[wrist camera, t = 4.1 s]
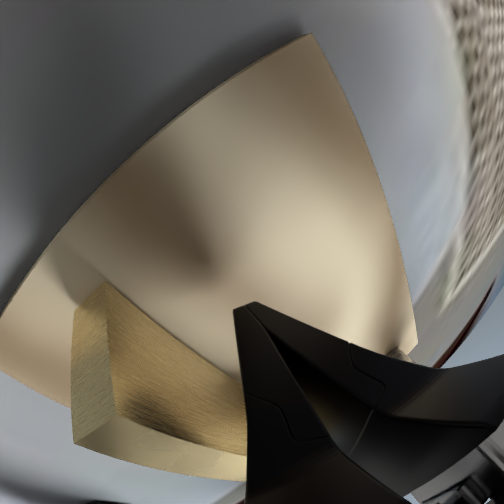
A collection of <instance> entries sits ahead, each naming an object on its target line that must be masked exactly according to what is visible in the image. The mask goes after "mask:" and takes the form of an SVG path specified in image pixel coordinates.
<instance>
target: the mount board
mask: <svg viewBox="0 0 504 504" xmlns="http://www.w3.org/2000/svg"><path fill="white" fill-rule="evenodd" d="M105 281H106V282H107V283H108V284H109V285H110V286H112V287H113V288H114V289H115V290H116V291H117V292H118V293H120V294H121V295H122V296H123V297H124V298H125V299H127V300H128V301H129V302H130V303H131V304H133V305H134V306H135V307H136V308H137V309H139V310H140V311H141V312H142V313H143V314H145V315H146V316H147V317H148V318H150V319H151V320H152V321H153V322H155V323H156V324H157V325H158V326H160V327H161V328H162V329H164V330H165V331H166V332H168V333H169V334H170V335H171V336H173V337H174V338H175V339H177V340H178V341H179V342H181V343H182V344H183V345H185V346H186V347H188V348H189V349H190V350H192V351H193V352H195V353H196V354H197V355H199V356H200V357H202V358H203V359H204V360H206V361H207V362H209V363H210V364H212V365H213V366H215V367H216V368H218V369H219V370H220V371H222V372H223V373H225V374H226V375H228V376H230V377H231V378H233V379H234V380H236V381H237V382H239V383H240V384H242V381H241V373H240V366H239V359H238V351H237V344H236V336H235V328H234V320H233V312H232V311H233V309H235V308H237V307H240V306H243V305H245V304H248V303H251V302H253V301H257V302H259V303H261V304H264V305H266V306H268V307H270V308H272V309H275V310H277V311H279V312H281V313H283V314H286V315H288V316H290V317H292V318H295V319H297V320H299V321H301V322H304V323H306V324H308V325H311V326H313V327H315V328H318V329H320V330H322V331H324V332H327V333H329V334H332V335H334V336H336V337H339V338H341V339H343V340H346V341H348V342H349V343H353V344H356V345H358V346H361V347H363V348H366V349H368V350H371V351H374V352H376V353H380V354H383V355H387V354H388V353H389V352H390V351H391V350H392V349H394V348H395V347H399V348H400V349H401V350H402V351H403V352H404V353H405V354H406V355H407V354H408V353H409V352H410V351H411V350H412V349H413V348H414V347H415V346H416V344H417V343H418V340H417V333H416V326H415V320H414V314H413V308H412V302H411V297H410V292H409V287H408V282H407V277H406V273H405V268H404V264H403V260H402V255H401V251H400V247H399V243H398V240H397V236H396V232H395V229H394V225H393V222H392V218H391V215H390V211H389V208H388V205H387V202H386V198H385V195H384V192H383V189H382V186H381V183H380V180H379V177H378V175H377V172H376V169H375V166H374V163H373V161H372V158H371V155H370V153H369V150H368V148H367V145H366V143H365V140H364V138H363V135H362V133H361V130H360V128H359V126H358V123H357V121H356V119H355V116H354V114H353V112H352V110H351V107H350V105H349V103H348V101H347V99H346V97H345V94H344V92H343V90H342V88H341V86H340V84H339V82H338V80H337V78H336V76H335V74H334V72H333V70H332V68H331V67H330V65H329V63H328V61H327V59H326V57H325V55H324V54H323V52H322V50H321V48H320V46H319V45H318V43H317V41H316V40H315V38H314V36H313V34H312V33H310V34H306V35H302V36H300V37H298V38H296V39H294V40H292V41H290V42H288V43H287V44H285V45H283V46H281V47H279V48H278V49H276V50H274V51H272V52H270V53H269V54H267V55H265V56H264V57H262V58H260V59H259V60H257V61H255V62H254V63H252V64H250V65H249V66H247V67H246V68H244V69H242V70H241V71H239V72H238V73H236V74H235V75H233V76H232V77H230V78H229V79H227V80H226V81H224V82H223V83H221V84H220V85H218V86H217V87H216V88H214V89H213V90H211V91H210V92H208V93H207V94H206V95H204V96H203V97H202V98H200V99H199V100H197V101H196V102H195V103H193V104H192V105H191V106H189V107H188V108H187V109H186V110H184V111H183V112H182V113H180V114H179V115H178V116H177V117H175V118H174V119H173V120H172V121H170V122H169V123H168V124H167V125H165V126H164V127H163V128H162V129H161V130H159V131H158V132H157V133H156V134H155V135H154V136H152V137H151V138H150V139H149V140H148V141H147V142H146V143H144V144H143V145H142V146H141V147H140V148H139V149H138V150H137V151H135V152H134V153H133V154H132V155H131V156H130V157H129V158H128V159H127V160H126V161H125V162H124V163H123V164H122V165H120V166H119V167H118V168H117V169H116V170H115V171H114V172H113V173H112V174H111V175H110V176H109V177H108V178H107V179H106V180H105V181H104V182H103V183H102V184H101V185H100V186H99V187H98V188H97V190H96V191H95V192H94V193H93V194H92V195H91V196H90V197H89V198H88V199H87V200H86V201H85V202H84V203H83V205H82V206H81V207H80V208H79V209H78V210H77V211H76V212H75V213H74V215H73V216H72V217H71V218H70V219H69V220H68V222H67V223H66V224H65V225H64V226H63V227H62V229H61V230H60V231H59V232H58V234H57V235H56V236H55V237H54V238H53V240H52V241H51V242H50V243H49V245H48V246H47V247H46V249H45V250H44V251H43V253H42V254H41V255H40V256H39V258H38V259H37V260H36V262H35V263H34V265H33V266H32V267H31V269H30V270H29V272H28V273H27V274H26V276H25V277H24V279H23V280H22V282H21V283H20V285H19V286H18V287H17V289H16V291H15V292H14V294H13V295H12V297H11V298H10V300H9V301H8V303H7V305H6V306H5V308H4V309H3V311H2V313H1V314H0V370H1V371H3V372H4V373H6V374H7V375H9V376H11V377H12V378H14V379H16V380H17V381H19V382H21V383H22V384H24V385H26V386H28V387H29V388H31V389H33V390H35V391H37V392H38V393H40V394H42V395H44V396H46V397H48V398H50V399H52V400H54V401H56V402H58V403H60V404H62V405H64V406H66V407H69V408H71V345H72V330H73V318H74V310H75V309H76V308H78V307H79V306H80V305H81V304H82V303H83V302H84V301H85V300H86V299H87V298H88V297H89V296H90V295H91V294H92V293H93V292H94V291H95V290H96V289H97V288H98V287H100V286H101V285H102V284H103V283H104V282H105Z"/></svg>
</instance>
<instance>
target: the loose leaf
mask: <svg viewBox="0 0 504 504" xmlns="http://www.w3.org/2000/svg"><path fill="white" fill-rule="evenodd" d="M71 415H72V430H73V441H74V444H77V445H79V446H82V447H85V448H87V449H90V450H93V451H96V452H99V453H102V454H105V455H108V456H111V457H114V458H117V459H120V460H124V461H127V462H131V463H135V464H138V465H142V466H146V467H150V468H155V469H159V470H164V471H169V472H174V473H179V474H185V475H191V476H197V477H204V478H212V479H221V480H232V481H245V482H246V466H247V420H246V411H245V403H244V394H243V388H242V384H240V383H239V382H237V381H236V380H234V379H233V378H231V377H230V376H228V375H226V374H225V373H223V372H222V371H220V370H219V369H218V368H216V367H215V366H213V365H212V364H210V363H209V362H207V361H206V360H204V359H203V358H202V357H200V356H199V355H197V354H196V353H195V352H193V351H192V350H190V349H189V348H188V347H186V346H185V345H183V344H182V343H181V342H179V341H178V340H177V339H175V338H174V337H173V336H171V335H170V334H169V333H168V332H166V331H165V330H164V329H162V328H161V327H160V326H158V325H157V324H156V323H155V322H153V321H152V320H151V319H150V318H148V317H147V316H146V315H145V314H143V313H142V312H141V311H140V310H139V309H137V308H136V307H135V306H134V305H133V304H131V303H130V302H129V301H128V300H127V299H125V298H124V297H123V296H122V295H121V294H120V293H118V292H117V291H116V290H115V289H114V288H113V287H112V286H110V285H109V284H108V283H107V282H106V281H105V282H104V283H103V284H102V285H101V286H100V287H98V288H97V289H96V290H95V291H94V292H93V293H92V294H91V295H90V296H89V297H88V298H87V299H86V300H85V301H84V302H83V303H82V304H81V305H80V306H79V307H78V308H76V309H75V310H74V318H73V330H72V345H71Z"/></svg>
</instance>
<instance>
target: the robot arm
mask: <svg viewBox="0 0 504 504" xmlns="http://www.w3.org/2000/svg"><path fill="white" fill-rule="evenodd" d="M232 312H233V320H234V328H235V336H236V344H237V351H238V359H239V366H240V373H241V381H242V388H243V394H244V403H245V411H246V420H247V466H246V494H245V503H244V504H412V503H410V502H409V501H407V500H406V499H404V498H403V497H404V496H406V495H407V494H409V493H411V494H412V495H413V496H414V498H415V499H416V500H417V501H418V502H419V503H420V504H484V503H485V502H486V501H487V499H488V498H490V499H491V500H490V501H489V502H488V503H487V504H504V354H503V355H500V356H496V357H493V358H489V359H485V360H482V361H478V362H474V363H470V364H466V365H462V366H457V367H453V368H444V369H443V368H431V367H427V366H423V365H419V364H415V363H411V362H407V361H404V360H400V359H396V358H393V357H389V356H386V355H383V354H380V353H376V352H374V351H371V350H368V349H366V348H363V347H361V346H358V345H356V344H353V343H349V342H348V341H346V340H343V339H341V338H339V337H336V336H334V335H332V334H329V333H327V332H324V331H322V330H320V329H318V328H315V327H313V326H311V325H308V324H306V323H304V322H301V321H299V320H297V319H295V318H292V317H290V316H288V315H286V314H283V313H281V312H279V311H277V310H275V309H272V308H270V307H268V306H266V305H264V304H261V303H259V302H257V301H253V302H251V303H248V304H245V305H243V306H240V307H237V308H235V309H233V311H232ZM89 504H106V503H101V502H92V503H89Z"/></svg>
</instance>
